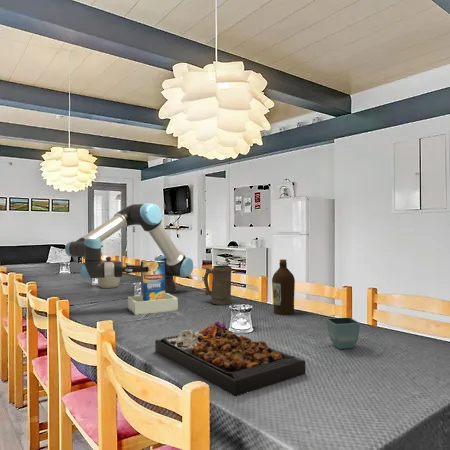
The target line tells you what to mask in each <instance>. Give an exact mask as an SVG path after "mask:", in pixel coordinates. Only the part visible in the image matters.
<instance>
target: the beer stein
mask: <svg viewBox="0 0 450 450" xmlns="http://www.w3.org/2000/svg"><path fill="white" fill-rule="evenodd" d="M232 271H233V268H232V266H230V265H226V264H225V265H220V264H219V265H214V266H213V269H211V268H210V267H208V268H207V267H206V268H205V273H204V275H203V284H204V287H205V292H204V295H205V296H211V300H210V303H212V304H214V305H219V306H221V305H223V306H225V305H226V306H227V305H230V304H231V303H232V295H231V294H232ZM210 274H212V282H211V283H212V284H211V290H210V286H209V281H208V279H209V278H208V277H209V275H210Z"/></svg>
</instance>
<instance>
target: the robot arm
mask: <svg viewBox="0 0 450 450" xmlns="http://www.w3.org/2000/svg"><path fill="white" fill-rule="evenodd" d="M162 213H163V212H162V210H161V208H160V207H159V206H158V204H155V203H149V202H147V203H135V204H130V205H127V206H126V207H124V208H122V209H121V210H119V211H117V212H116V213H115V214H114V215H113V217H112V218H109V219H108V220H107V221H105V222H104V223H102V224H100V225H99V226H97V227H96V228H94V229H92V230H91V231H89V232H88V233H87V234H85V235H83V236H82V237H80V238H79V239H76V240H75V241H74V240H72V241H69V242H67V243H66V244H65V247H64V251H65V254H66V255H67V256H68V257H73V258H76V257H77V258H84V262H82V263H80V266H79V267H80V268H79V269H80V271H79V272H80V278H81V279H90V280H91V279H98V278H106V277H107V279H109V277H113V276H115V277H120V278H122V277H123V273H126V274H135V273H141V272H148V271H149V268H148V267H141V264H140V265H139V264H137V265H135V264H131V265H130V264H126V265H125V266H123V262H122V261H120V262H114V263H113V262H103V263H102V262H101V261H102V244H101V243H102V242H103V241H105V240H106V239H108V238H109V237H111V236H112V235H114V234H115V233H117V232H118V231H120V230H121V229H126V228H127V227H130V226H140V227H141V228H142V229H143V231H144V232H147V233H148V234H149V235H150V236H151V238H152V240H153V241H154V242H155V243H156V246H157V247H158V249H159V250H160V252H161V253H162V254H163V255H157V256H155V258H154V261H158V260H162V261H165V293H168V294H173V293H174V294H175V293H176V292H177V291H178V290H177V285H176V283H175V279H174V277H178V278H179V277H180V278H187V277H189V276H190V275H191V274H192V272H193V269H194V262H193V261H194V260H192V257H186V255H185V254H184V252H183V251H181V250H180V251H179V249H178V248H177V246H176V244H175V243H174V241H173V239H172V238H171V237H170V235H169V234H168V232H167V231H166V229H165V227H164V226H163V224H162V222H163V220H162V218H163V215H162Z"/></svg>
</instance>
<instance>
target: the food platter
mask: <svg viewBox="0 0 450 450" xmlns="http://www.w3.org/2000/svg"><path fill="white" fill-rule="evenodd" d="M222 321H223V323H222V322H220V321H219V320H218V321H217V320H214V323H213V324H212V323H211V324H210V326H209V323H208V320H206V321H205V323H206V324H205V325H206V326H207V327H205V328H203V330H197V331H195V330H193V329H190V330H187V329H185V330H183V331H182V330H181V331H180V332H179V333H177V335H171V336H167V337H164V338H159V339H156V340H155V341H154V343H155V345H154V347H155V352H156V353H157V354H160V355H161V356H163V357H164V358H166V359H167V360H169V361H172V362H173V363H175V364H176V365H178V366H180V367H182V368H183V369H185V370H188V371H189V372H191V373H192V374H194V375H195V376H198V377H199V378H201V379H203V380H205V381H207V382H208V381H209V384H210V383H211V384H212V385H214V386H215V385H216V386H215V387H217V386H218V387H217V388H219V387H220V388H219V389H221V390H222V391H224V390H225V391H224V392H226V391H227V392H226V393H228V392H229V393H228V394H230V393H231V394H232V395H231V394H230V395H231V396H233V395H234V396H233V397H235V396H236V397H238V396H237V395H239V396H242V395H244V393H245V394H248V393H251V392H255V391H257V390H261V389H263V388H266V387H270V386H272V385H275V384H280V383H282V382H284V381H285V382H286V381H288V380H291V379H294V378H297V377H300V376H303V375H306V361H305V360H304V359H302V358H299V357H296V356H294V355H291V354H287V353H285V352H282V351H280V350H277V349H274V348H271V347H269V344H268V343H267V342H266V341H261V340H260V341H253V340H251V338H250V337H247V336H244V335H239V336H238V335H237V334H236V333H233V331H231V330H229V329H228V328H227V327H226V325H225V324H226V323H225V318H224V316H222ZM247 392H248V393H247ZM241 394H242V395H241Z"/></svg>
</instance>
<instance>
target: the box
mask: <svg viewBox="0 0 450 450" xmlns="http://www.w3.org/2000/svg"><path fill="white" fill-rule="evenodd" d="M178 301H179V298H178V297H176V296H175V295H172V294H171V293H165V299H161V300H151V301H141V295H134V296H133V295H132V296H127V309H128V310H129V311H130V312H131V311H132V312H131V313H132V314H133V315H135V316H139V314H141V315H148V314H149V313H150V314H157V313H167V312H176V311H178V310H179V304H178V303H179V302H178Z"/></svg>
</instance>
